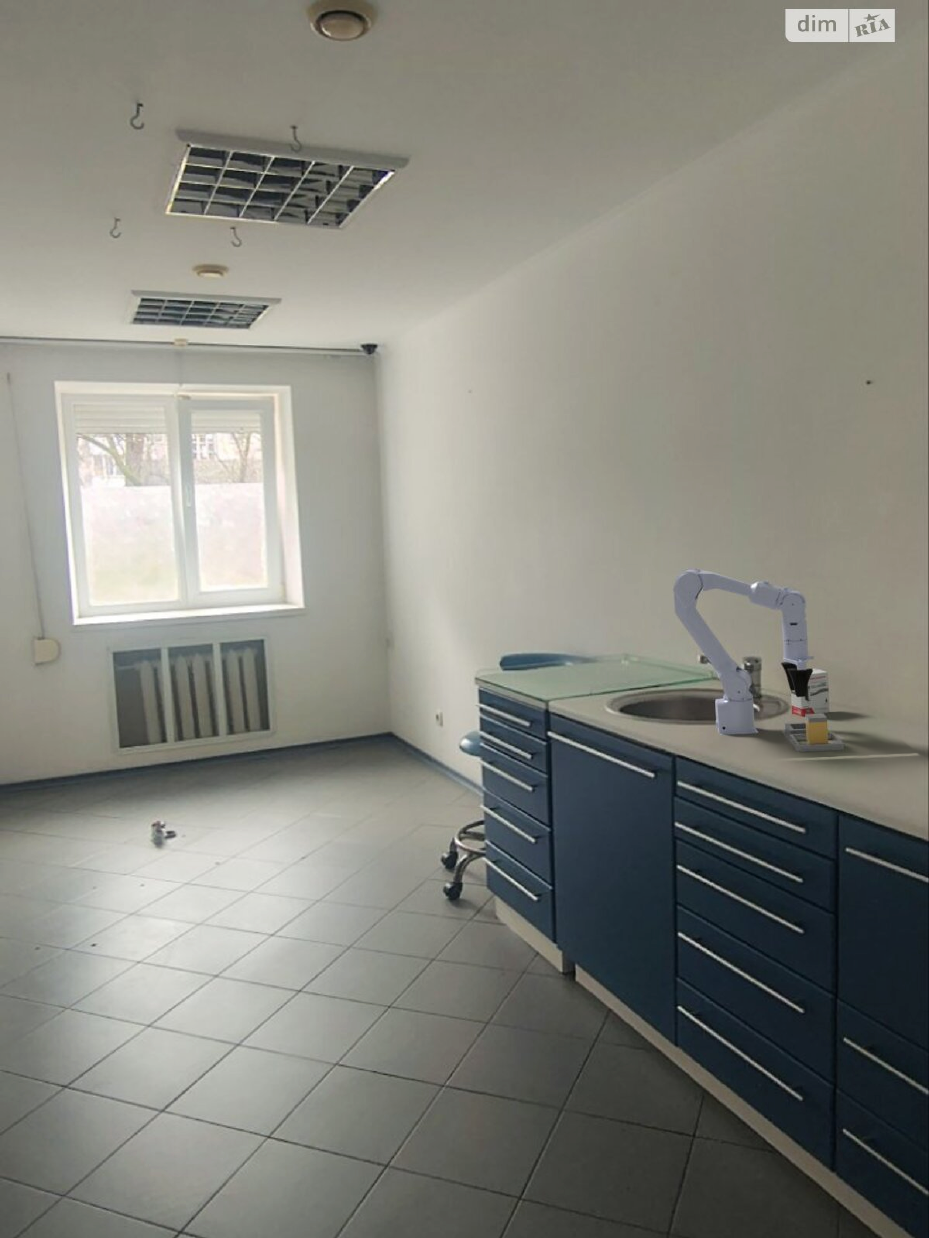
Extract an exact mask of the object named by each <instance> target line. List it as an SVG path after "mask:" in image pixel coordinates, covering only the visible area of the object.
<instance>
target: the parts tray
mask: <svg viewBox="0 0 929 1238" xmlns="http://www.w3.org/2000/svg"><path fill="white" fill-rule="evenodd" d="M828 740H832V741H833V742H834V743H833V742H832V743H831V742H830V743H828V744H809V745H808V744H800V743H799V742H800V741H807V738H806V734H790V739H789V741H790V743H791V744H792V745H793V747H794V748H795V750H796V751H797V752H798V753H803V752H827V751H845V743H844V742H843V741H842V740H841V739H840V738H839V737H838V736H837V734H836V733H835V732H828ZM798 741H799V742H798Z"/></svg>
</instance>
